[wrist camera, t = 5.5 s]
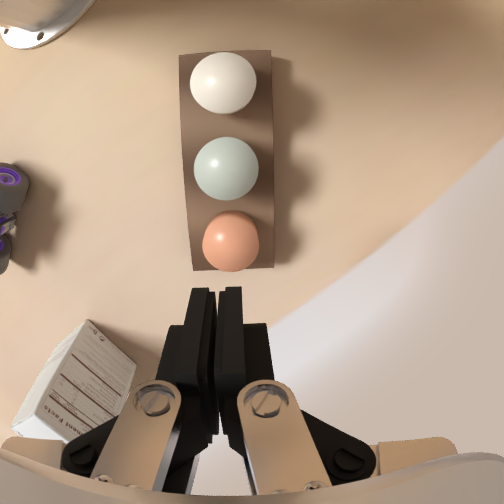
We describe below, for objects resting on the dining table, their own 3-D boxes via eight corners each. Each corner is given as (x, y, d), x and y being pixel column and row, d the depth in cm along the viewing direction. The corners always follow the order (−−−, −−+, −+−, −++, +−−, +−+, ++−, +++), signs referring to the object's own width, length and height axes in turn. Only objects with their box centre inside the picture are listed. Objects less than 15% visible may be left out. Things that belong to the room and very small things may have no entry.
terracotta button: (203, 211, 20) (199, 220, 18) (256, 209, 20) (258, 217, 18) (207, 260, 21) (205, 272, 20) (257, 258, 22) (259, 270, 20)
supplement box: (102, 385, 29) (70, 472, 18) (56, 343, 27) (7, 427, 15) (140, 365, 28) (109, 468, 16) (88, 316, 25) (31, 414, 14)
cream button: (194, 62, 15) (189, 54, 13) (253, 59, 15) (255, 51, 13) (196, 116, 17) (191, 115, 15) (255, 113, 17) (257, 111, 15)
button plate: (182, 60, 17) (179, 55, 16) (268, 55, 17) (270, 50, 16) (195, 262, 23) (193, 270, 22) (271, 259, 24) (274, 267, 22)
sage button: (197, 138, 17) (192, 139, 15) (255, 135, 17) (257, 136, 15) (200, 194, 19) (196, 202, 17) (257, 191, 19) (259, 199, 17)
